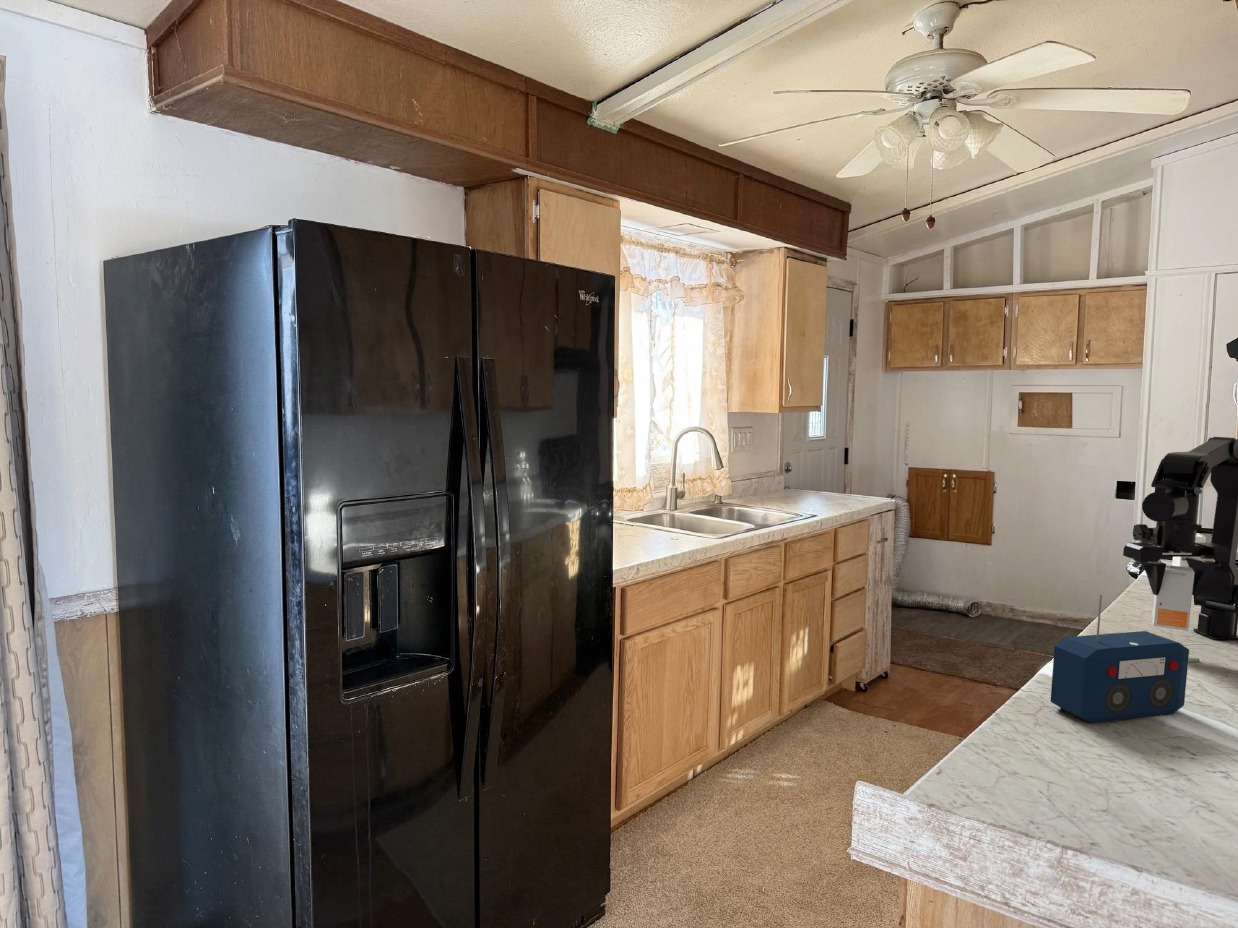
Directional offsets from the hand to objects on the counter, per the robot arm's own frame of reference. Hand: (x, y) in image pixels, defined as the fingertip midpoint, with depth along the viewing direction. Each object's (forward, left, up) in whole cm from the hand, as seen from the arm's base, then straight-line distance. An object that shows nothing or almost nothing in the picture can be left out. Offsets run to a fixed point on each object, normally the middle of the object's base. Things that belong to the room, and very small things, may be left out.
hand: (1173, 594), depth 170 cm
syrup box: (-47, -56, -13) cm, 74 cm away
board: (0, -3, -13) cm, 13 cm away
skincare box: (0, 0, -7) cm, 7 cm away
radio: (+30, +28, -13) cm, 42 cm away
